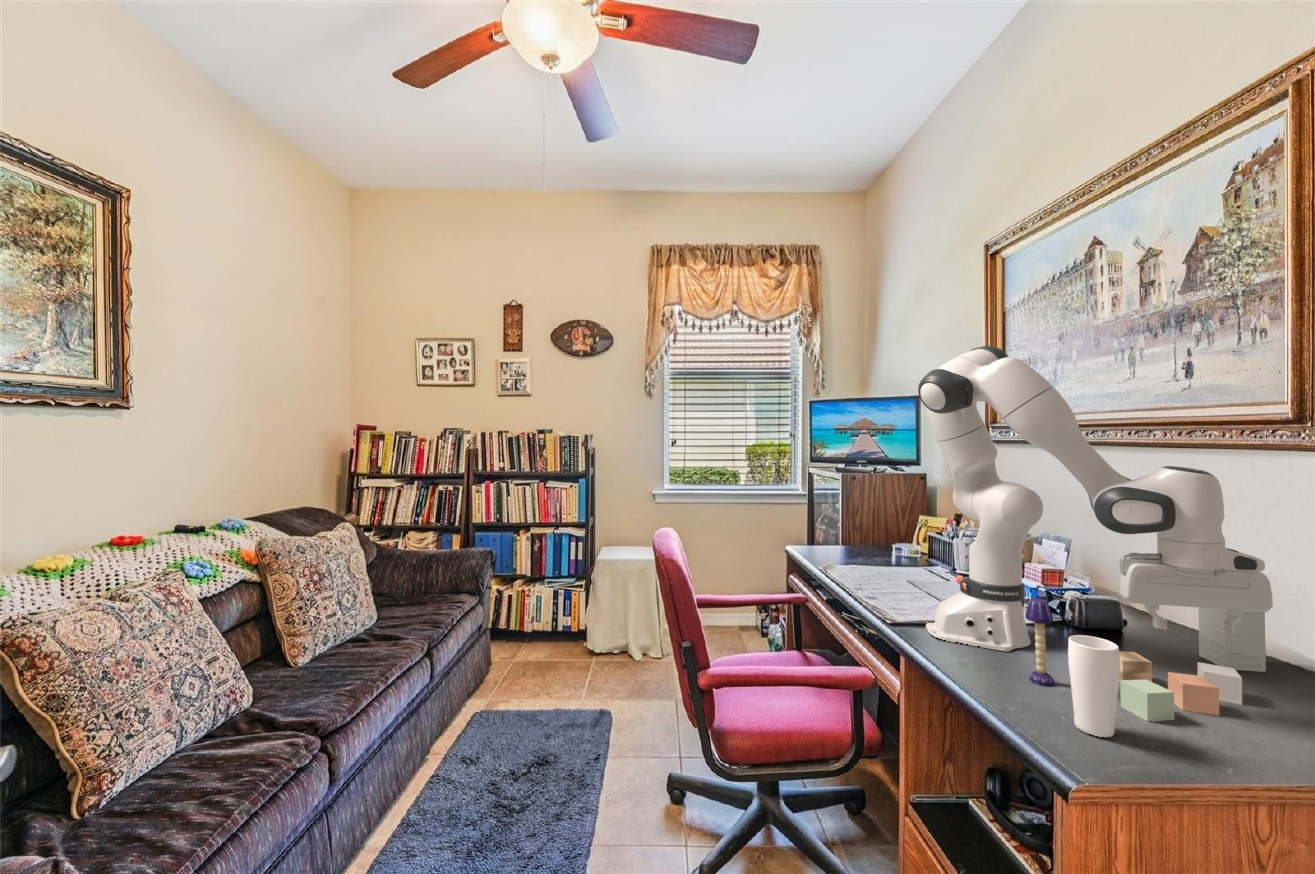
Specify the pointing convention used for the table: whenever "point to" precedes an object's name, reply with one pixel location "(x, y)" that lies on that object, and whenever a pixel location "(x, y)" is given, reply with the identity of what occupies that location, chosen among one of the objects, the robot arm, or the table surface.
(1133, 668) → the oak block
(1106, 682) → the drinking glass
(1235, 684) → the grey block
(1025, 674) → the table surface
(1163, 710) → the sage block
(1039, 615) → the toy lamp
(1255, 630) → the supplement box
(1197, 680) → the terracotta block
